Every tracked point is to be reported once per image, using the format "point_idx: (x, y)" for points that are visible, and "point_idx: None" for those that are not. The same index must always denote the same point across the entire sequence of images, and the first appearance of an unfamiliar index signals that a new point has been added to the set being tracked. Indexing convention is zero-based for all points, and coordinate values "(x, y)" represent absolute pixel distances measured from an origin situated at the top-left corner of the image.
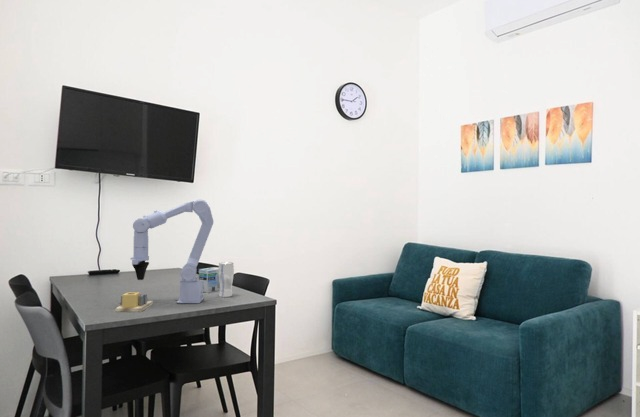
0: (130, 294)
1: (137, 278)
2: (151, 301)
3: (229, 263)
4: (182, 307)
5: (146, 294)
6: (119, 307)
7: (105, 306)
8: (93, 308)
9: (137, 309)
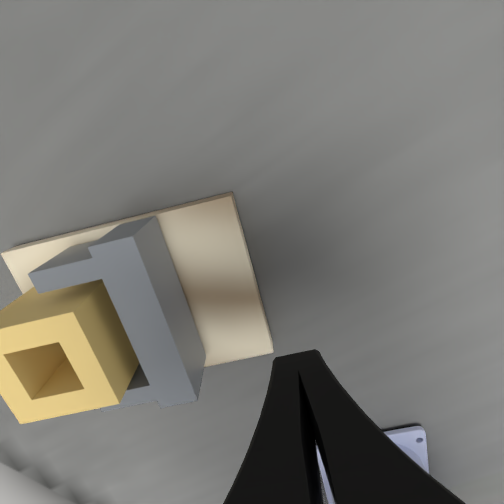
0: (13, 384)
1: (272, 371)
2: (264, 350)
3: None
4: None
5: (183, 402)
6: (35, 262)
7: (111, 62)
8: (13, 7)
9: None
